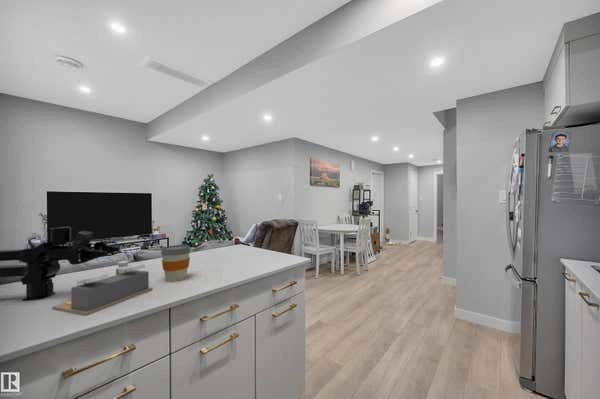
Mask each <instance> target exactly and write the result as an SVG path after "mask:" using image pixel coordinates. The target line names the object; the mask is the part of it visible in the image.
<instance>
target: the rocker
mask: <svg viewBox="0 0 600 399" xmlns="http://www.w3.org/2000/svg"><path fill="white" fill-rule="evenodd" d="M144 268H146V265H145V263H143V264H138V265H133V266H130V267H128V268H124V269H120V270H118V272H119V273H124V272H125V273H128V272H131V271H135V270H138V271H139V270H141V269H144Z"/></svg>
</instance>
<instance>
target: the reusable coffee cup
mask: <svg viewBox="0 0 600 399" xmlns="http://www.w3.org/2000/svg"><path fill="white" fill-rule="evenodd" d="M190 253H191V247H190V245H187V244H179V245H177V244H176V245H175V244H174V245H169V246H164V247H162V248H161V257H162V260H161V262H162V263H161V264H162V265H161V266H162V270H163V271H164V277H165V278H164V279H165V281H166V282H179V281H182V279H183V280H185V279H187V275H188V268H189V267H190V266H189V265H190V259H191V257H190ZM184 278H185V279H184ZM178 280H179V281H178Z"/></svg>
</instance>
